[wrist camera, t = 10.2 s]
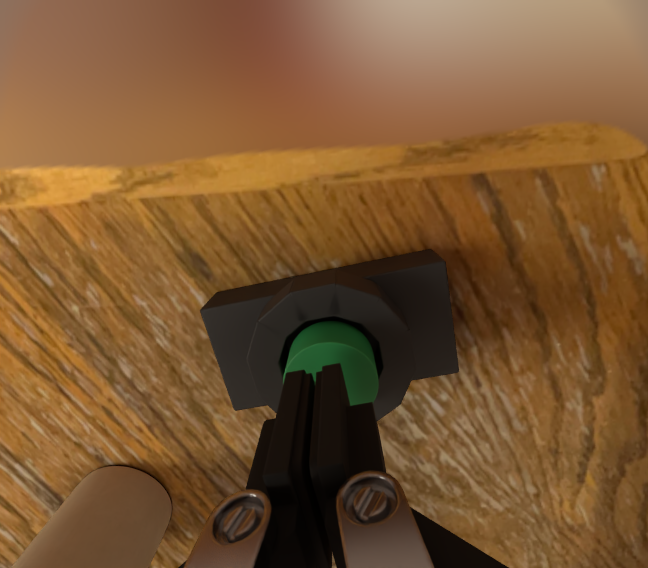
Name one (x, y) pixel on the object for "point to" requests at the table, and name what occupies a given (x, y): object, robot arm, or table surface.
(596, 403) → the table surface
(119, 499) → the candle
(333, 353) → the arm button
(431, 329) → the dark grey button housing
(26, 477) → the table surface
